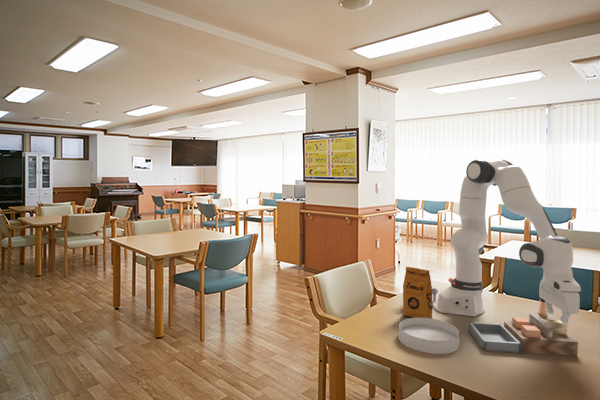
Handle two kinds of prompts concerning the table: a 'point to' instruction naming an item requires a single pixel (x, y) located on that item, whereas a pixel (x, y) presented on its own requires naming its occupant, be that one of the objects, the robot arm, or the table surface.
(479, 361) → the table surface
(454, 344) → the dish
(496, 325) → the box
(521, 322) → the terracotta tile
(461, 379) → the table surface
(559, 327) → the scraper
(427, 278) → the coffee package
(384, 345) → the table surface
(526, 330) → the terracotta tile
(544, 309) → the grandmother figurine
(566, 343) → the walnut board
